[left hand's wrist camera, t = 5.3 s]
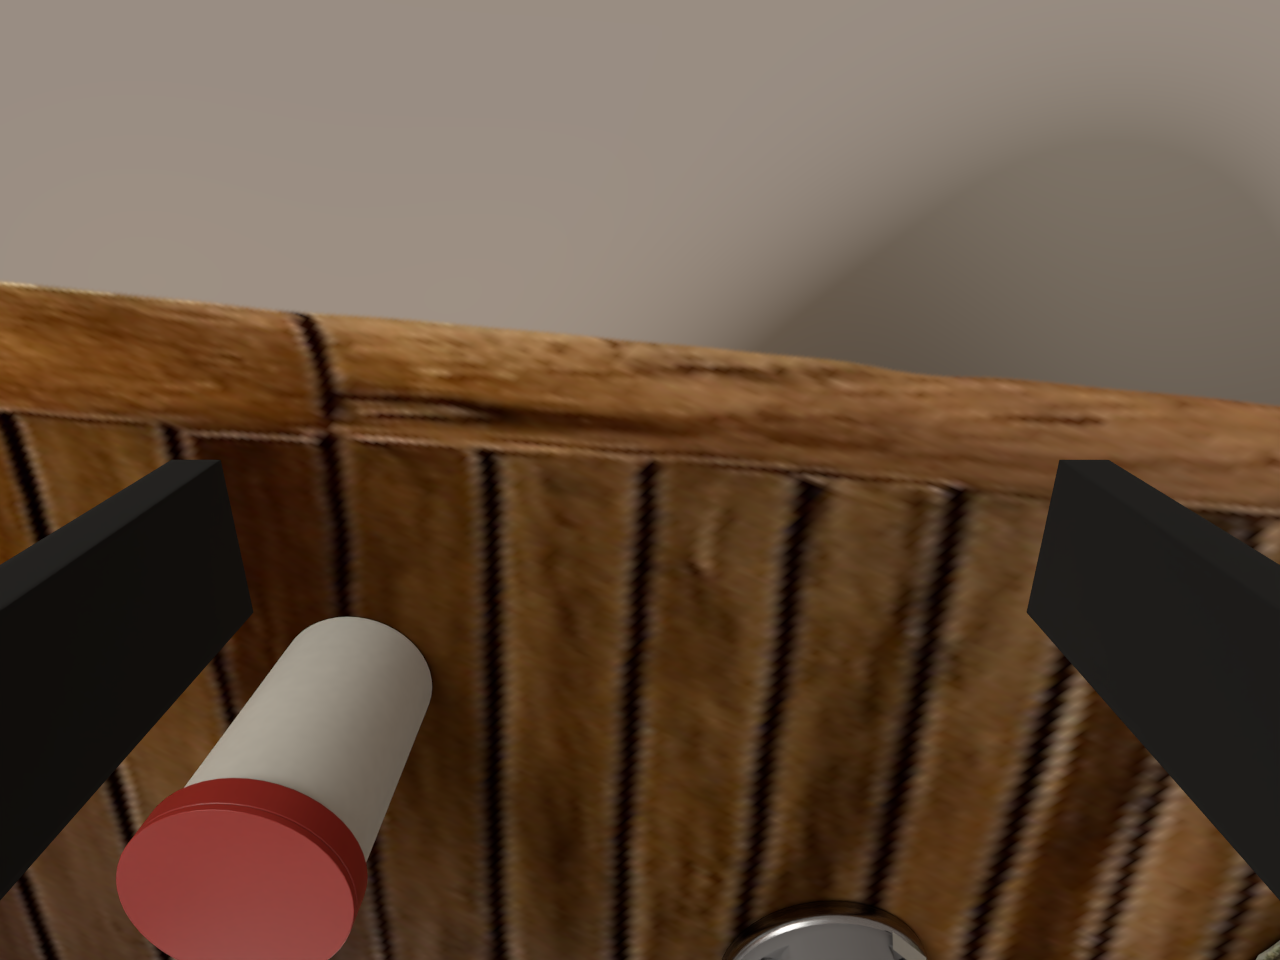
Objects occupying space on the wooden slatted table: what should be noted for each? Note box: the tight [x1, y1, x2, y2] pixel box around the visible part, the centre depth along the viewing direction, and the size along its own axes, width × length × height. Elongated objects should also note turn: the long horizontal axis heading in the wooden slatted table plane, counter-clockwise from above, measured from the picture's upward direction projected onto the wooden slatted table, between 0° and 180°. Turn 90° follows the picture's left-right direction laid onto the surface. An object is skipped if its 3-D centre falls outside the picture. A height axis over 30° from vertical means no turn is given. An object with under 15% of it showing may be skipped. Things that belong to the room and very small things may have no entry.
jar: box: [184, 617, 432, 862], centre depth 40 cm, size 9×9×15 cm
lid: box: [116, 778, 367, 960], centre depth 34 cm, size 10×10×2 cm
